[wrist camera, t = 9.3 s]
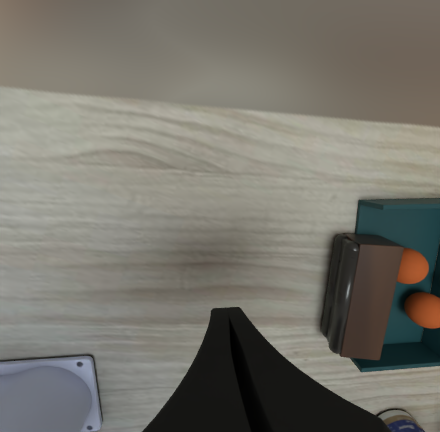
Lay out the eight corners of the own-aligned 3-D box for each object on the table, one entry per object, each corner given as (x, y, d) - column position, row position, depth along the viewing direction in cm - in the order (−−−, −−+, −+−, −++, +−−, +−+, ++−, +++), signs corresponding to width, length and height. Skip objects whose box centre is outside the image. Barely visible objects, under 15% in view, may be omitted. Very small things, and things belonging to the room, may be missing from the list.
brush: (330, 356, 20) (380, 360, 19) (349, 243, 18) (405, 246, 17) (318, 331, 23) (361, 335, 22) (333, 232, 21) (380, 235, 20)
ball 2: (412, 292, 20) (438, 283, 21) (389, 302, 23) (413, 294, 23) (441, 328, 18) (468, 317, 19) (413, 336, 21) (437, 326, 22)
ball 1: (391, 267, 22) (374, 279, 21) (395, 238, 21) (378, 249, 20) (431, 281, 20) (416, 296, 18) (438, 249, 19) (423, 262, 17)
